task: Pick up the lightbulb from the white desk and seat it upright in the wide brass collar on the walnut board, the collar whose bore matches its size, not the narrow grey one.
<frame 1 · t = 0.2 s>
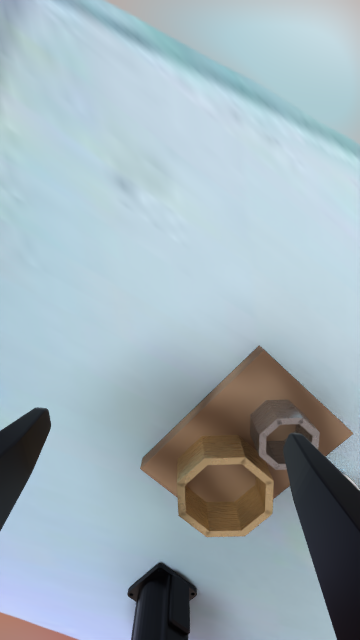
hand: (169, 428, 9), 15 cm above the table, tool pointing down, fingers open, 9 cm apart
walnut board: (240, 441, 27), on the table
brass collar: (218, 461, 27), resting on walnut board
grey small collar: (271, 414, 26), resting on walnut board
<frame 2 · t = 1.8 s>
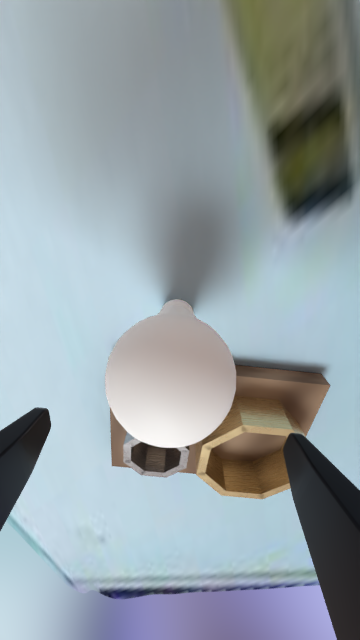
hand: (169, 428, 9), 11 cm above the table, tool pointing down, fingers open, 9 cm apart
lightbulb: (177, 309, 19), on the table
walnut board: (206, 417, 24), on the table
brass collar: (242, 420, 24), resting on walnut board
grey small collar: (161, 412, 24), resting on walnut board
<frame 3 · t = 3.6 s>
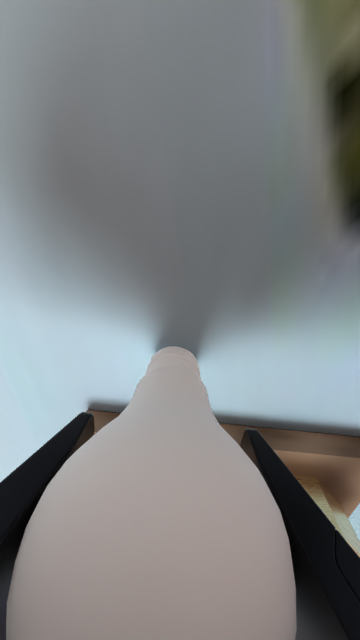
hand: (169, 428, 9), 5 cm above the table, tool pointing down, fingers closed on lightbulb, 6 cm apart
lightbulb: (174, 356, 13), on the table, touching gripper
walnut board: (214, 486, 18), on the table
brass collar: (261, 490, 18), resting on walnut board
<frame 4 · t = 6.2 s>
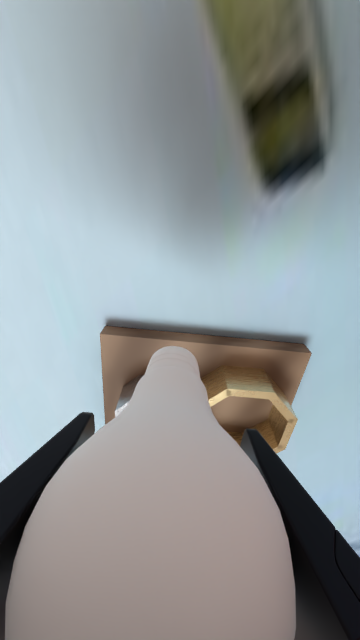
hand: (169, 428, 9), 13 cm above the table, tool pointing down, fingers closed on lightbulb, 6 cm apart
lightbulb: (174, 355, 13), point 8 cm above the table, touching gripper
walnut board: (196, 390, 25), on the table
brass collar: (230, 393, 25), resting on walnut board
grey small collar: (152, 386, 25), resting on walnut board
when the fingers open (7 cm above the table, at t = 9.1 s): lightbulb drops 1 cm, resting on walnut board.
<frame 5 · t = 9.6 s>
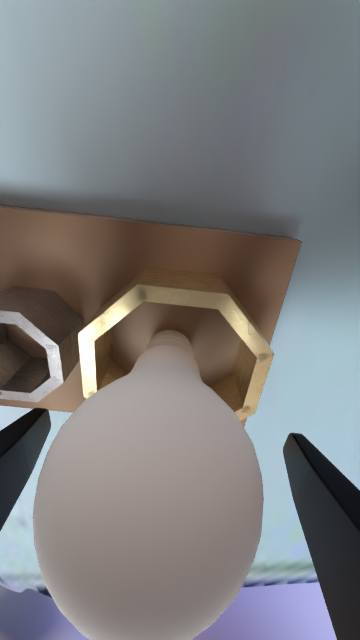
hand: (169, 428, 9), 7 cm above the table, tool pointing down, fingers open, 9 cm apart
lightbulb: (170, 340, 15), point 1 cm above the table, touching walnut board
walnut board: (123, 326, 16), on the table
brass collar: (176, 332, 16), resting on walnut board
grey small collar: (53, 319, 16), resting on walnut board
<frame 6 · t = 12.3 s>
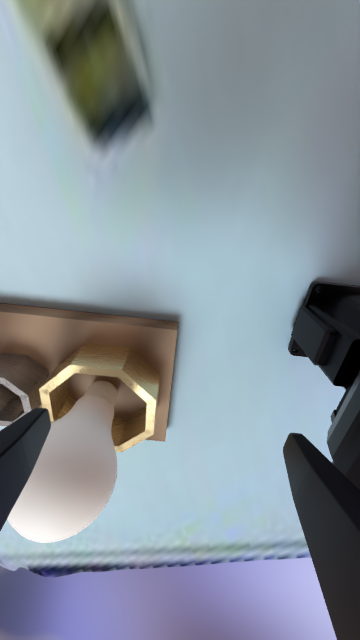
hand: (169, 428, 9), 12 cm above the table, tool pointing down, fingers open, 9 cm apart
lightbulb: (106, 384, 22), point 1 cm above the table, touching walnut board
walnut board: (77, 372, 23), on the table
brass collar: (114, 376, 23), resting on walnut board
grey small collar: (30, 367, 23), resting on walnut board
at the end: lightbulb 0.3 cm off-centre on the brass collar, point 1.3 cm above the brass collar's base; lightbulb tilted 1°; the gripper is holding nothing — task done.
